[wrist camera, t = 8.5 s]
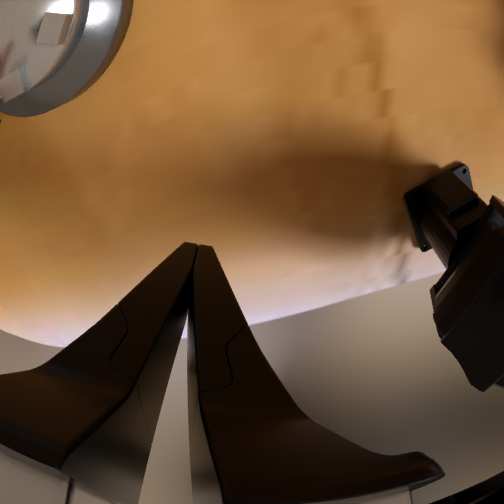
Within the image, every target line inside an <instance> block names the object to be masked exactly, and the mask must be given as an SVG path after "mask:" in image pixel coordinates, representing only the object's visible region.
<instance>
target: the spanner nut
mask: <svg viewBox="0 0 504 504" xmlns="http://www.w3.org/2000/svg"><path fill="white" fill-rule="evenodd" d="M89 3H90V0H0V99H2V98H3V99H4V103H5V102H7V101H10V100H12V99H14V98H16V97H18V96H19V95H21V94H23V93H25V92H27V91H29V90H31V89H34V88H36V87H39V86H40V85H42V84H44V83H46V82H47V81H48V80H50V79H51V78H52V77H53V76H54V75H56V74H57V73H58V72H59V71H60V70H61V68H62V67H63V66H64V65H65V64H66V62H67V61H68V60H69V58H70V57H71V55H72V54H73V52H74V50H75V49H76V47H77V45H78V43H79V41H80V39H81V36H82V34H83V31H84V29H85V25H86V22H87V18H88V12H89Z"/></svg>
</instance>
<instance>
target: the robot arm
mask: <svg viewBox="0 0 504 504" xmlns="http://www.w3.org/2000/svg"><path fill="white" fill-rule="evenodd" d="M463 169H464V171H463V172H462V170H463ZM410 197H412V198H411V199H410V200H408V199H409V198H410ZM404 202H405V205H406V208H407V211H408V214H409V217H410V220H411V223H412V226H413V229H414V232H415V235H416V238H417V242H418V245H419V248H420V249H421V251H422V252H426V251H428V250H430V249H432V248H433V250H434V251H435V253H436V254H437V256H438V257H439V259H440V260H441V262H442V263H443V265H444V266H445V268H446V271H445V272H444V274H443V275H442V277H441V278H440V279H439V281H438V282H437V283H436V285H433V287H432V288H431V289H430V294H431V299H432V305H433V310H434V313H433V319H434V322H435V324H436V328H437V332H438V335H439V337H440V338H441V343H442V344H443V345H444V346H445V347H446V348H447V349H448V350H449V351H450V352H451V353H452V354H453V355H454V357H455V358H456V359H457V360H458V362H459V363H460V365H461V367H462V368H463V370H464V372H465V374H466V376H467V378H468V380H469V382H470V384H471V385H472V386H474V387H475V388H477V389H478V390H480V391H482V392H485V391H486V390H487V389H489V388H490V387H491V386H492V385H495V386H497V387H500V388H503V389H504V202H503V201H501V200H500V199H498V198H497V197H495V196H494V195H492V197H491V199H490V201H489V202H490V203H489V205H487V204H486V203H485V202H484V201H483V200H482V199H481V198H480V197H479V196H478V194H477V193H476V192H475V191H474V190H473V187H472V182H471V177H470V172H469V168H468V166H467V165H465V164H463V163H462V164H460V165H458V166H456V167H454V168H452V169H450V170H448V171H446V172H444V173H442V174H440V175H438V176H437V177H435V178H433V179H431V180H429V181H427V182H426V183H424V184H422V185H420V186H418V187H416V188H415V189H413V190H411V191H409V192H407V193H406V194H405V195H404ZM425 245H426V246H425ZM424 246H425V247H424ZM188 309H189V310H188ZM187 315H188V330H187V379H188V380H187V381H188V382H187V383H188V422H189V423H188V424H189V448H190V466H191V482H192V495H193V504H413V501H412V495H411V491H412V490H415V489H418V488H420V487H423V486H425V485H427V484H430V483H432V482H434V481H437V480H439V479H441V478H442V477H444V476H445V472H444V471H443V469H442V468H441V466H440V465H439V464H438V463H437V462H436V461H435V460H433V459H432V458H430V457H429V456H427V455H426V454H424V453H423V452H419V451H415V452H409V453H404V454H399V455H385V454H379V453H376V452H373V451H370V450H368V449H366V448H364V447H362V446H360V445H358V444H356V443H354V442H352V441H350V440H348V439H346V438H345V437H343V436H341V435H339V434H337V433H335V432H334V431H332V430H330V429H328V428H326V427H325V426H323V425H321V424H319V423H318V422H316V421H314V420H313V419H311V418H310V417H309V416H308V415H307V414H305V413H304V412H303V411H302V410H301V408H300V407H299V406H298V405H297V404H296V402H295V401H294V399H293V398H292V396H291V395H290V394H289V392H288V391H287V389H286V388H285V387H284V385H283V383H282V382H281V381H280V379H279V377H278V376H277V375H276V373H275V372H274V370H273V369H272V367H271V366H270V364H269V363H268V361H267V359H266V358H265V356H264V354H263V353H262V351H261V349H260V347H259V345H258V344H257V342H256V340H255V338H254V336H253V334H252V332H251V329H250V327H249V326H248V323H247V321H246V319H245V317H244V315H243V313H242V310H241V308H240V306H239V304H238V302H237V300H236V297H235V295H234V293H233V291H232V289H231V287H230V284H229V282H228V280H227V278H226V276H225V273H224V271H223V269H222V267H221V264H220V262H219V260H218V258H217V255H216V253H215V251H214V249H213V247H212V246H207V245H199V246H198V245H197V244H195V243H189V242H184V243H183V244H182V245H180V246H179V247H178V248H177V249H176V250H175V251H174V252H173V253H172V254H170V255H169V256H168V257H167V258H166V259H165V260H164V261H163V262H162V263H160V264H159V265H158V266H157V267H156V268H155V269H154V270H153V271H152V272H151V273H150V274H148V275H147V276H146V277H145V278H144V279H143V280H142V281H141V282H140V283H139V284H138V285H137V286H136V287H134V288H133V289H132V290H131V291H130V292H129V293H128V294H127V295H126V296H125V297H124V298H123V299H122V300H121V301H120V302H119V303H118V304H117V305H115V306H114V307H113V308H112V309H111V310H110V311H109V312H108V313H107V314H106V315H105V316H104V317H103V318H101V319H100V320H99V321H98V322H97V323H96V324H95V325H93V326H92V327H91V328H90V329H88V330H87V331H86V332H85V333H84V334H82V335H81V336H80V337H78V338H77V339H76V340H75V341H73V342H72V343H71V344H69V345H68V346H67V347H65V348H64V349H63V350H62V351H60V352H59V353H58V354H57V355H55V356H54V357H53V358H51V359H50V360H49V361H48V362H46V363H44V364H42V365H41V366H39V367H37V368H34V369H31V370H27V371H21V372H14V373H8V374H2V375H0V504H138V501H139V497H140V492H141V488H142V484H143V479H144V475H145V471H146V467H147V462H148V458H149V454H150V450H151V446H152V445H151V444H152V442H153V438H154V434H155V430H156V426H157V422H158V418H159V414H160V411H161V407H162V403H163V400H164V395H165V392H166V388H167V385H168V381H169V377H170V374H171V370H172V367H173V363H174V360H175V356H176V353H177V349H178V345H179V343H180V339H181V336H182V332H183V329H184V326H185V322H186V319H187ZM430 504H504V471H502V472H500V473H498V474H496V475H495V476H493V477H491V478H489V479H487V480H484V481H482V482H480V483H478V484H476V485H474V486H471V487H469V488H467V489H465V490H462V491H460V492H458V493H455V494H453V495H450V496H448V497H445V498H443V499H440V500H437V501H435V502H432V503H430Z"/></svg>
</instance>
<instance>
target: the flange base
mask: <svg viewBox="0 0 504 504" xmlns="http://www.w3.org/2000/svg"><path fill="white" fill-rule="evenodd" d="M132 8H133V0H90V3H89V12H88V18H87V22H86V25H85V29H84V31H83V34H82V36H81V39H80V41H79V43H78V45H77V47H76V49H75V50H74V52H73V54H72V55H71V57H70V58H69V60H68V61H67V62H66V64H65V65H64V66H63V67H62V68H61V70H60V71H59V72H58V73H57V74H56V75H54V76H53V77H52V78H51V79H50V80H48V81H47V82H46V83H44V84H42V85H40V86H39V87H36V88H34V89H31V90H29V91H27V92H25V93H23V94H21V95H19V96H18V97H16V98H14V99H12V100H10V101H7V102H5V103H4V99H3V98H2V99H0V111H1V112H3V113H6V114H8V115H12V116H17V117H29V116H36V115H39V114H43V113H45V112H48V111H50V110H52V109H55V108H57V107H59V106H61V105H63V104H65V103H67V102H69V101H71V100H73V99H75V98H76V97H78V96H79V95H81V94H82V93H83V92H85V91H86V90H87V89H88V88H89V87H90V86H92V85H93V84H94V83H95V82H96V81H97V80H98V79H99V77H100V76H101V75H102V74H103V73H104V72H105V70H106V69H107V68H108V66H109V65H110V64H111V62H112V60H113V59H114V57H115V55H116V54H117V52H118V50H119V48H120V46H121V44H122V42H123V40H124V38H125V35H126V32H127V29H128V27H129V23H130V19H131V15H132ZM0 122H1V120H0Z"/></svg>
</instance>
